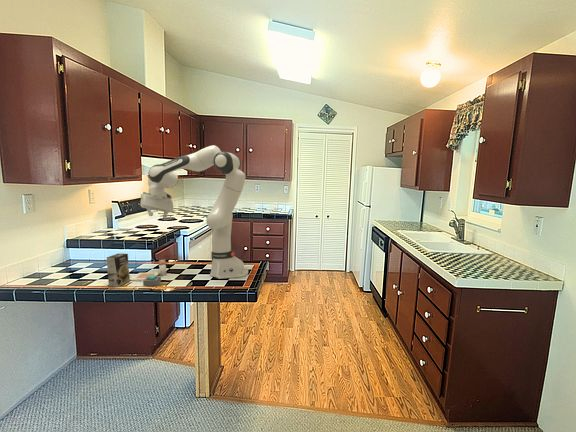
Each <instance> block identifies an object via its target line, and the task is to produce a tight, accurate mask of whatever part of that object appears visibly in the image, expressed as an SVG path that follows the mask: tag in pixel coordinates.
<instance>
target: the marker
mask: <svg viewBox="0 0 576 432" xmlns="http://www.w3.org/2000/svg"><path fill="white" fill-rule="evenodd" d="M158 267H159V272H160V274H159V276H161V277H165V276H167V265H166V259H159V260H158Z"/></svg>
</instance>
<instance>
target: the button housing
mask: <svg viewBox="0 0 576 432" xmlns="http://www.w3.org/2000/svg"><path fill="white" fill-rule="evenodd" d="M161 282H162V276H160V275H158V276H156V279H155V280H149V279H148V277H147V278H146V279H144V280H143V281H142V285H143V287H154V286H155V287H157V286H158V285H159V284H160V283H161Z"/></svg>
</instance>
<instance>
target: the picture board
mask: <svg viewBox="0 0 576 432" xmlns="http://www.w3.org/2000/svg"><path fill="white" fill-rule="evenodd" d="M150 275H155V276H160V271H159V272H138V273H137V274H136V275H134V276H133V277H132V278H131V279H130V282H143V280H144V279H146V278H147V277H148V276H150Z"/></svg>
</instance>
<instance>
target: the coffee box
mask: <svg viewBox="0 0 576 432" xmlns="http://www.w3.org/2000/svg"><path fill="white" fill-rule="evenodd" d="M106 266H107V267H106V268H107V269H106V270H107V279H108V287H117V288H119V287H121V286H123V285H125V284H127V283H129V282H131V281H130V280H131V279H130V278H131V277H130V267H129V254H128V253H116V254H112V255H109V256H107V257H106Z"/></svg>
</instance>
